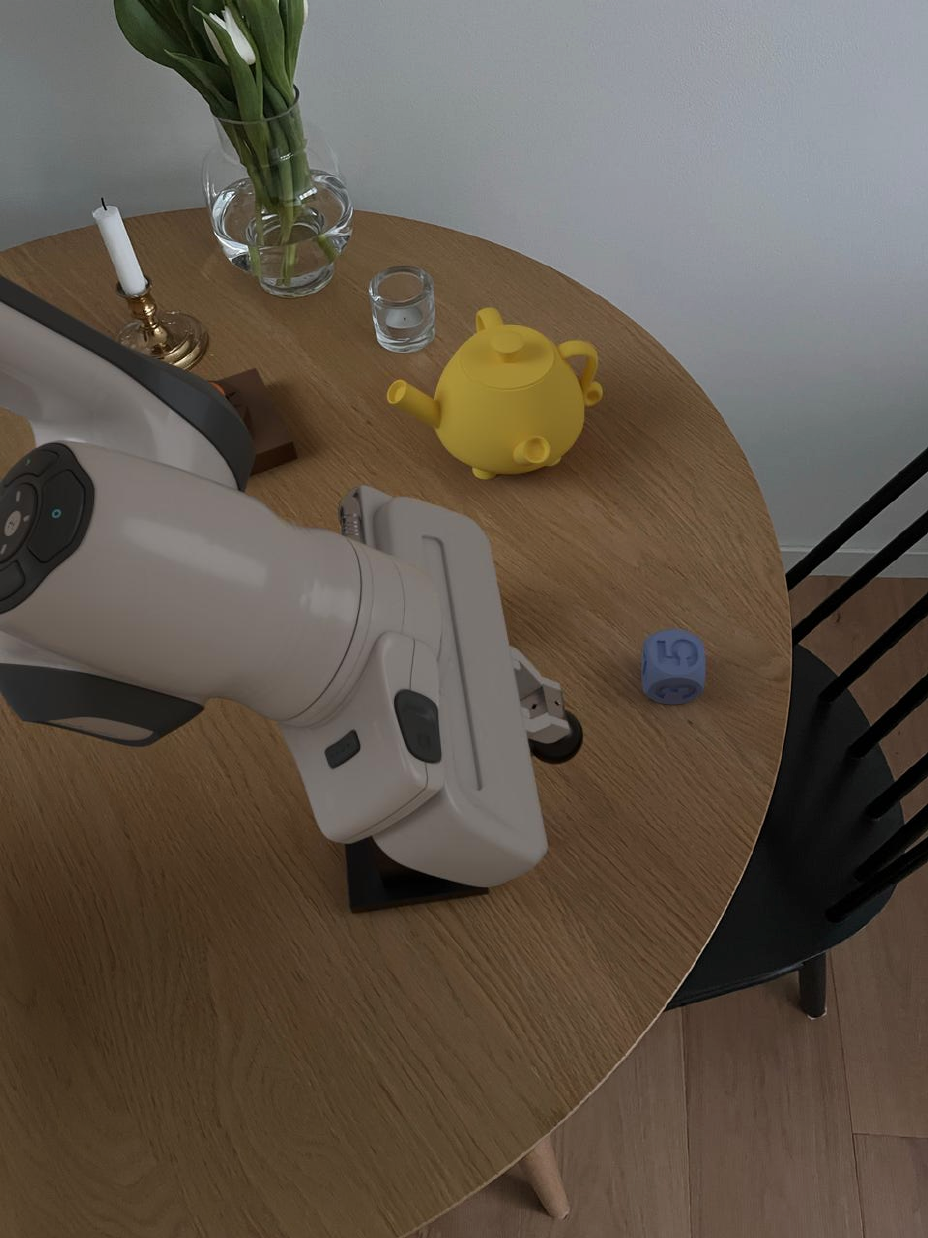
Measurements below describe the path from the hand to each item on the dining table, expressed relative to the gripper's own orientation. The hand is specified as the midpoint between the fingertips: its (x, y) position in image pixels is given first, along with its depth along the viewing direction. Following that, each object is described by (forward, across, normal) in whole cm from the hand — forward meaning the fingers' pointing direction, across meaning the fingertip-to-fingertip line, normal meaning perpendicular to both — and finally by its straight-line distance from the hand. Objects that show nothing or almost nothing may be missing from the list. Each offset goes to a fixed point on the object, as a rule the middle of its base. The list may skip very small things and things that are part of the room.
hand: (556, 714), depth 57 cm
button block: (-4, -40, -28) cm, 49 cm away
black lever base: (+5, 0, -18) cm, 19 cm away
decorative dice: (+19, -10, -4) cm, 22 cm away
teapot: (+13, -35, -10) cm, 39 cm away
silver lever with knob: (+1, 0, -7) cm, 7 cm away
